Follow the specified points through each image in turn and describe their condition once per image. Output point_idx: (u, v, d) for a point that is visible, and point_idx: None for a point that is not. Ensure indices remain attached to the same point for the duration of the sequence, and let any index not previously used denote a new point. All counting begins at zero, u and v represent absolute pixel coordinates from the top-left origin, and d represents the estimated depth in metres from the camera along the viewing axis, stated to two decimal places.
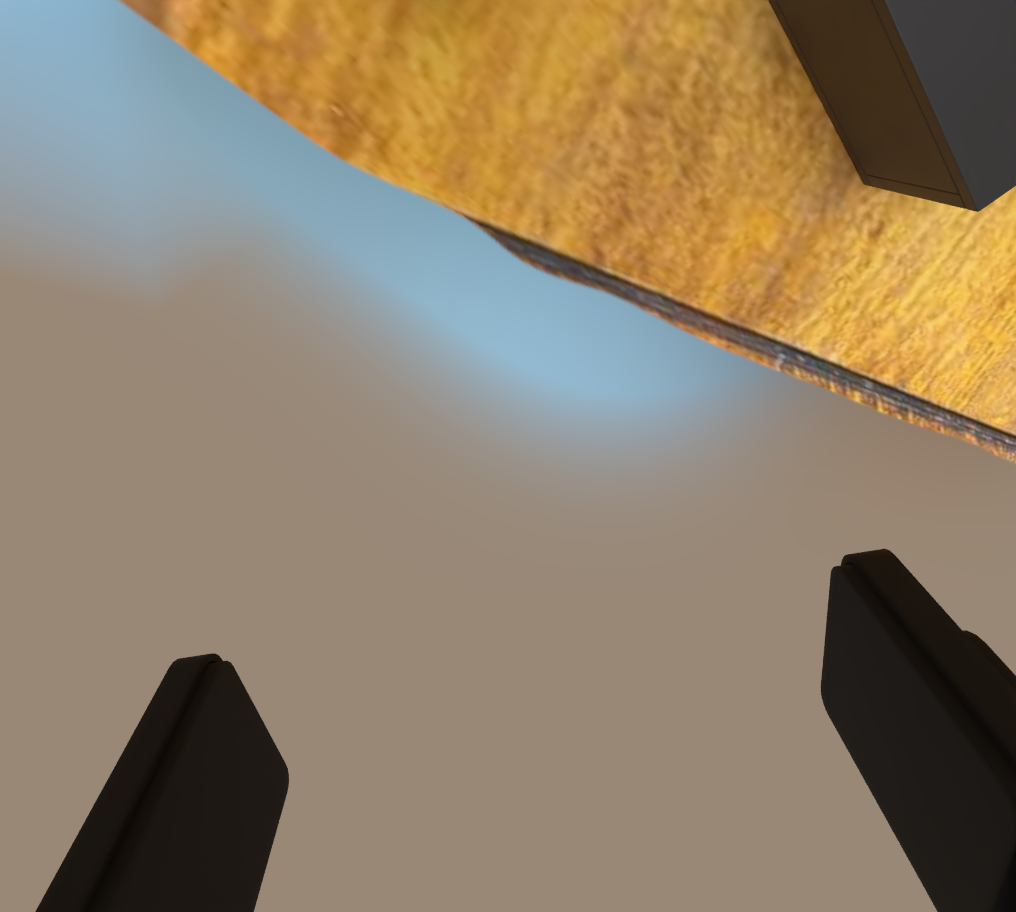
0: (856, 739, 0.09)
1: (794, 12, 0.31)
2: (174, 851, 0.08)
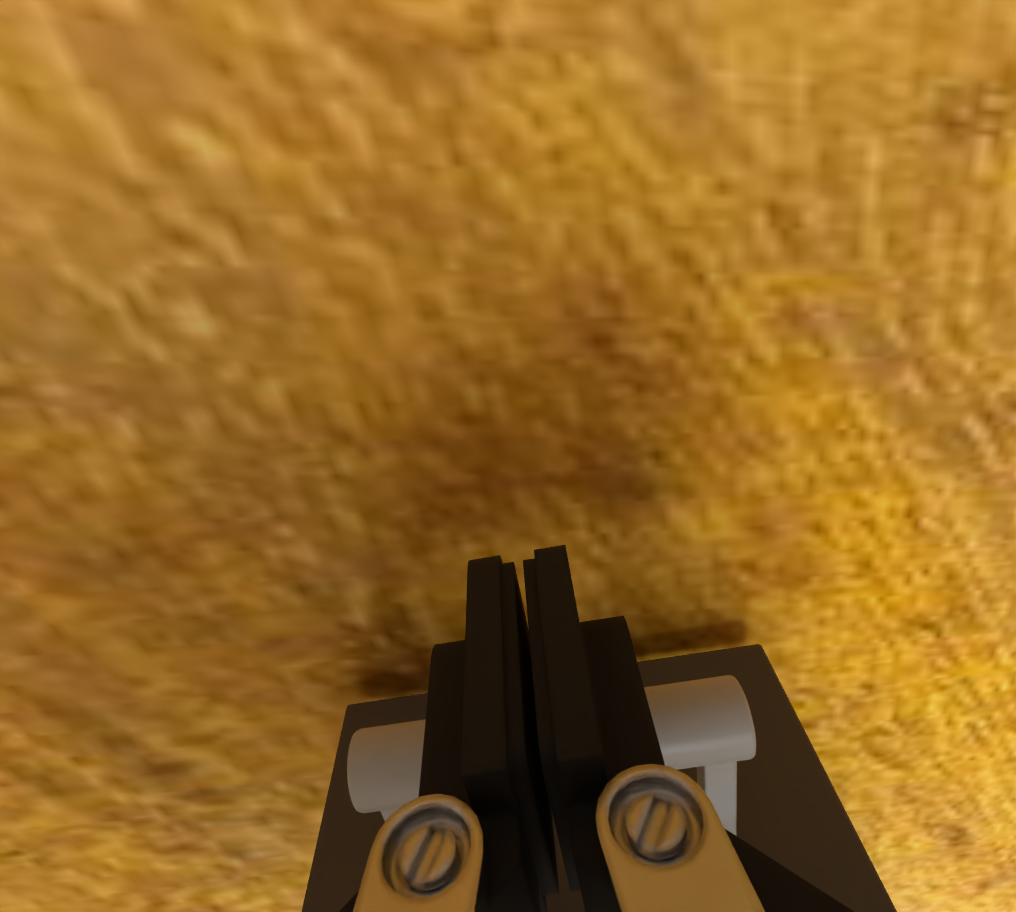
0: None
1: None
2: (528, 713, 0.09)
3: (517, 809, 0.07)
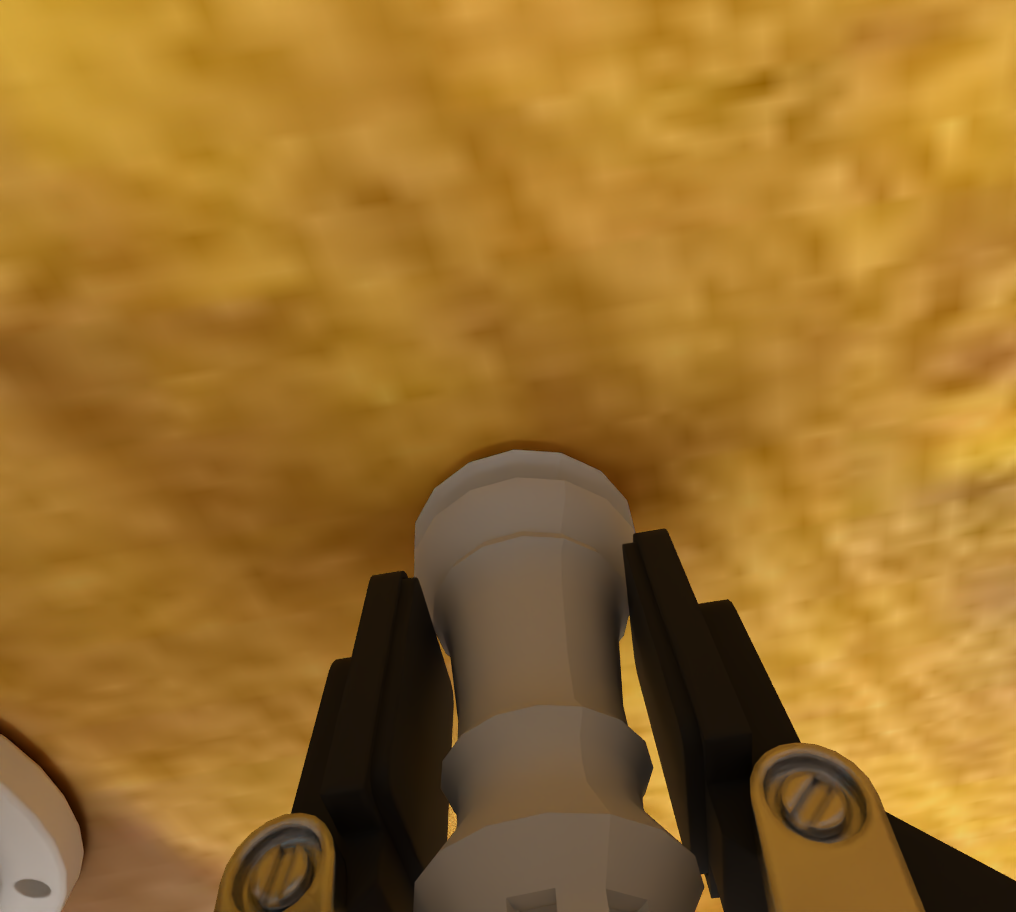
0: (646, 698, 0.11)
1: None
2: (411, 729, 0.09)
3: (382, 827, 0.08)
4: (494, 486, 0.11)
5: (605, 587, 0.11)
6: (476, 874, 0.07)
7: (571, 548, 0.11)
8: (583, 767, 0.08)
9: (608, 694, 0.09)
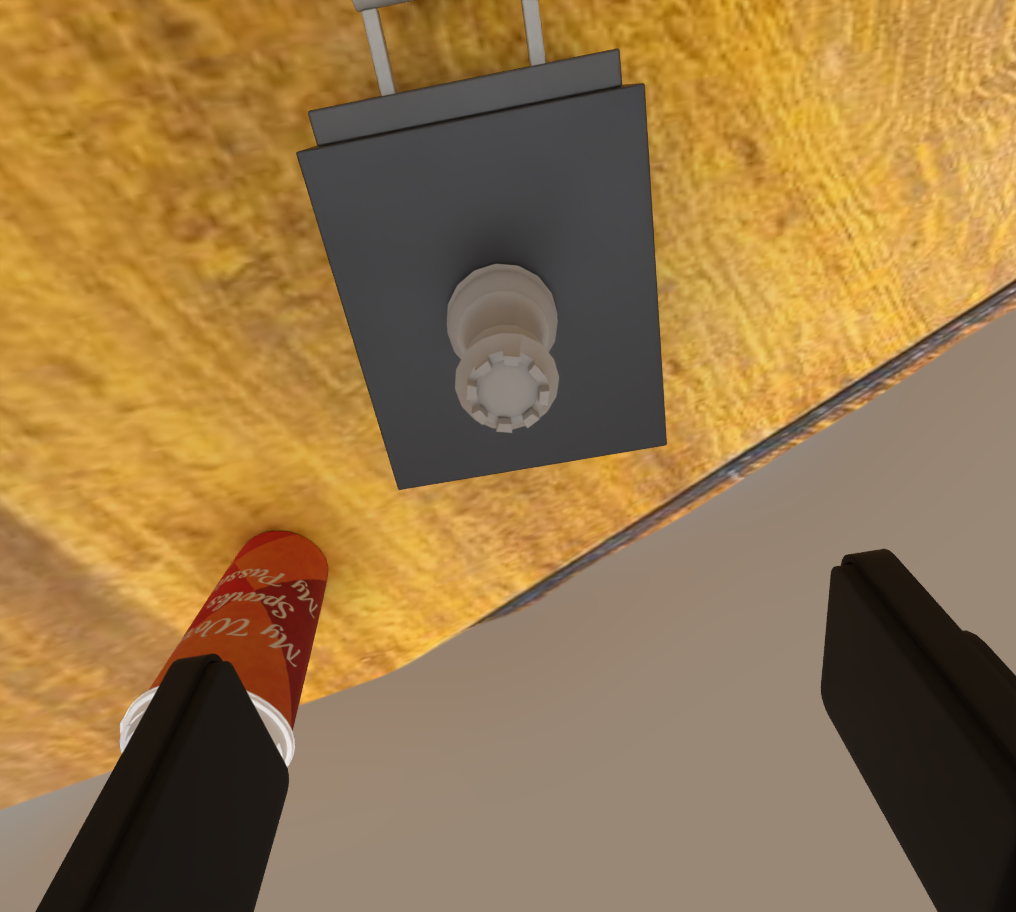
0: (856, 739, 0.09)
1: None
2: (174, 851, 0.08)
3: None
4: (486, 274, 0.24)
5: (535, 315, 0.24)
6: (477, 353, 0.20)
7: (520, 296, 0.24)
8: None
9: None
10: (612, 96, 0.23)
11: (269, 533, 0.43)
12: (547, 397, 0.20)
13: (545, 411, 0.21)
